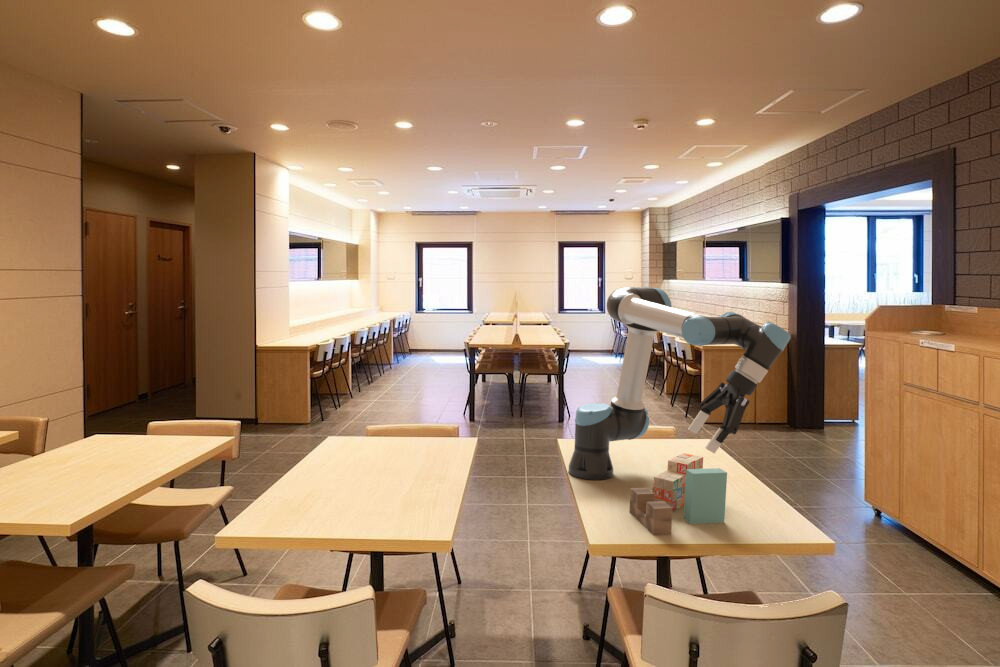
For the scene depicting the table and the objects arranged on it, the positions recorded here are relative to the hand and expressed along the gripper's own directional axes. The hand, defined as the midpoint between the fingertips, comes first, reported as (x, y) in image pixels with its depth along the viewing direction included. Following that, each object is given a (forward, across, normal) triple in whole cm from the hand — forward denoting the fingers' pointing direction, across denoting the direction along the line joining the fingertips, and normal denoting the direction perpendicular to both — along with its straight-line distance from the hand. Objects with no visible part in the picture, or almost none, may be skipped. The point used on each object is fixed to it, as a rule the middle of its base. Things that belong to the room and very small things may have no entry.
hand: (700, 441), depth 167 cm
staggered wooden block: (+26, +4, -1) cm, 26 cm away
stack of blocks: (+21, -13, +13) cm, 28 cm away
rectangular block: (+18, +2, +13) cm, 23 cm away
